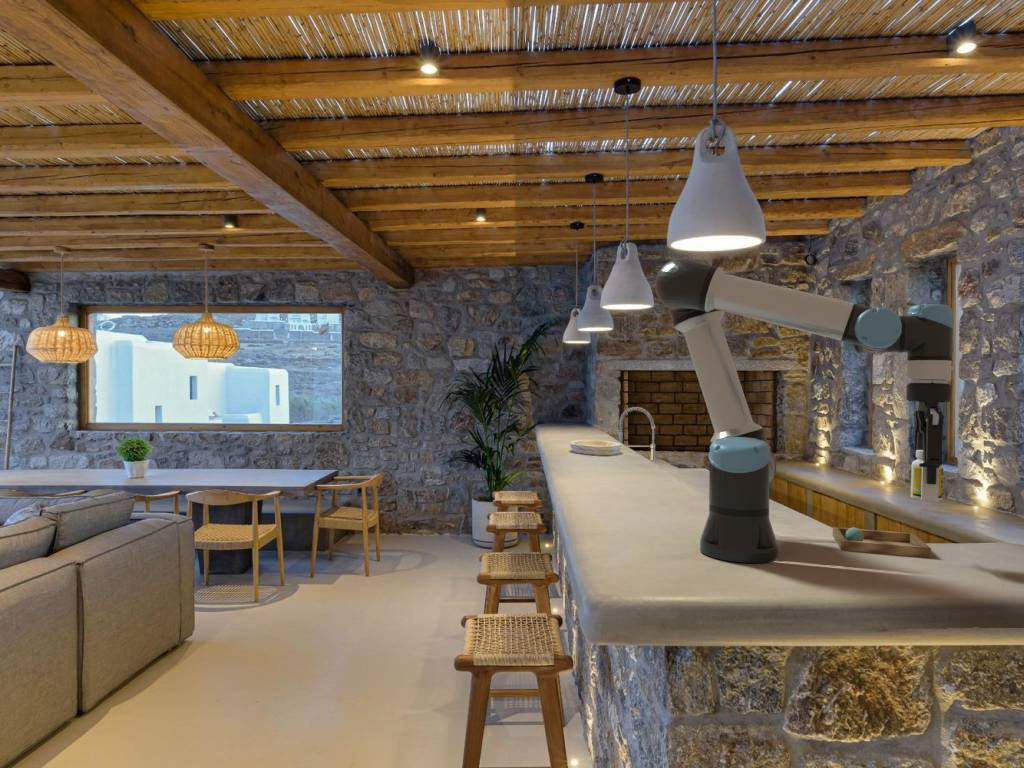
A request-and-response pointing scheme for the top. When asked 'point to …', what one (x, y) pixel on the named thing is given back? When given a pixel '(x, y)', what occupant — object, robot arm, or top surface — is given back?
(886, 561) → the top surface
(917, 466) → the supplement bottle
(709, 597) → the top surface
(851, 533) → the ball
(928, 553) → the tray
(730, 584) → the top surface
